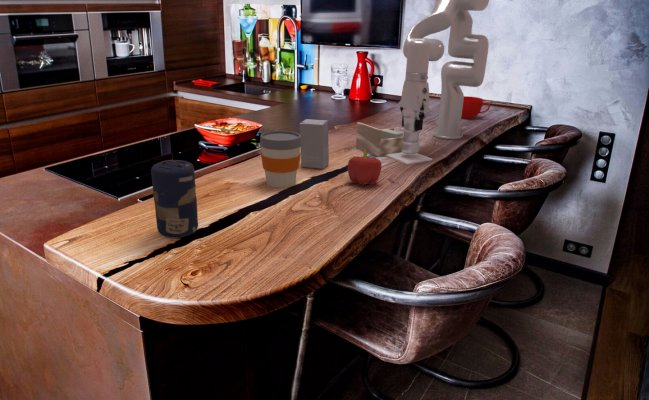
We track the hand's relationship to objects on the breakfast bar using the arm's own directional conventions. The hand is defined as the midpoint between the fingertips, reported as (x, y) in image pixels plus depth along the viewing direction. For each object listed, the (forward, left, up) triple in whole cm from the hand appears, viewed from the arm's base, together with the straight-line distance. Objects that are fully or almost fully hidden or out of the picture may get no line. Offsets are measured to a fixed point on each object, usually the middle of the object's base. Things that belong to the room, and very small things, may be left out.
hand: (411, 127), depth 178 cm
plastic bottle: (0, 0, -10) cm, 10 cm away
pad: (0, 0, -11) cm, 11 cm away
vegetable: (+31, +14, -12) cm, 36 cm away
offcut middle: (-2, -14, -9) cm, 17 cm away
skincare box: (+36, -8, -12) cm, 39 cm away
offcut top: (-2, -14, -7) cm, 16 cm away
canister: (+92, +22, -12) cm, 95 cm away
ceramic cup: (-77, -40, -12) cm, 87 cm away
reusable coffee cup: (+54, +2, -12) cm, 55 cm away
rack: (-1, -14, -11) cm, 18 cm away
